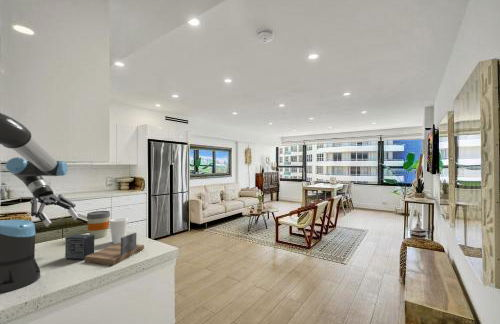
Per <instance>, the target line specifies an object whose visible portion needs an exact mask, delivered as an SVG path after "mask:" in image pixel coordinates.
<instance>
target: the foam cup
mask: <svg viewBox="0 0 500 324" xmlns="http://www.w3.org/2000/svg"><path fill="white" fill-rule="evenodd" d="M109 220H110V222H109V227H110V234H111V242H112V243H113V245H115V244H117V243H121V238H122V237H124V236H127V229H128V222H129V218H128V217H118V218H117V217H116V218H112V219H109Z"/></svg>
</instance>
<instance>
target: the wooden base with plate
mask: <svg viewBox="0 0 500 324" xmlns="http://www.w3.org/2000/svg"><path fill="white" fill-rule="evenodd" d="M143 249H144V250H145V244H137V232H133V233H130V234H126V236H124V237H122V238H121V243H117V244H112V245H110V246H107V247H105V248H103V249H100V250H98V251H94V253H93V254H90V255H88V256H85V260H84V262H85V263H89V264H99V265H101V264H102V265H107V266H115V265H118V264H119V263H121V262H124V261H125V260H128V259H129V258H131V257H133V256H134V254H135V255H137V254H139V253H140V251H141V252H142V250H143ZM144 250H143V251H144ZM138 252H139V253H138ZM136 253H137V254H136ZM132 255H133V256H132ZM130 256H131V257H130Z"/></svg>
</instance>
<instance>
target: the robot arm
mask: <svg viewBox="0 0 500 324" xmlns="http://www.w3.org/2000/svg"><path fill="white" fill-rule="evenodd" d="M0 145H2V146H3V147H4V148H7V149H12V150H13V151H15V153H17V154H18V155H20V156H21V157H19V156H18V157H13V158H10V159H8V160H7V162H6V164H5V168H6V170H7V171H8V172H10V173H11V174H12V175H13V176H15V177H17V178H18V179H19V180H20V181H22V182H23V183H24V185H25V186H26V188H27V189H28V190H29V192H30V193H31V195H32V196H33V197H32V198H31V199H30V201H29V203H30V204H31V205H30V206H31V209H30V216H31V217H35V218H36V219H37V218H38V220H39V221H40V222H42V223H43V224H44V225H45V227H46V228H48V227H49V226H51V224H52V221H51V220H50V218H48V215H47V214H46V213H45V212H43V211H44V208H45V206H58V207H61V208H62V209H66V210H67V212H68V213H69V215H70V216H71V217H72V219H73V220H74V221H76V220H77V219H78V218H79V215H78V214H77V211H76V210H75V207H76V203H74V202H72V201H71V200H70V199H67V198H66V197H64V196H63V195H62V194H57V195H55V194H54V190H53V189H52V188H51V187H50V185H49V184H48V183H47V181H46V180H45V179H44V178H43V177H61V176H65V175H67V173H68V170H69V169H68V168H69V166H68V164H67V161H65V160H64V161H62V160H56V159H55V157H53V156H52V155H51V154H50V153H49V152H48V151H47V150H46V149H45V148H44V147H43V146H42V145H40V143H39V142H37V140H36V139H34V137H33V135H32V132H31V131H30V130H29V129H28V128H27V127H26V126H25V125H24V124H22V123H20V122H19V121H17V120H16V119H14V118H12V117H10V116H9V115H6V114H3V113H1V112H0ZM22 157H23V158H22ZM38 203H40V205H39V208H38ZM36 232H37V231H36V225H35V222H33V221H31V220H27V219H5V220H4V219H3V220H0V293H4V292H3V291H6V292H10V291H14V290H17V289H21V288H23V287H26V286H29V285H31V284H33V283H35V282H37V281H39V279H40V278H41V269H40V267H39V265H38V263H37V260H36V259H35V257H36V255H35V253H36V252H35V251H36V234H37V233H36Z"/></svg>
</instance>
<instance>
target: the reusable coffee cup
mask: <svg viewBox="0 0 500 324" xmlns="http://www.w3.org/2000/svg"><path fill="white" fill-rule="evenodd" d="M110 217H111V212H110V211H109V210H97V211H90V212H87V214H86V219H87V223H86V225H87V230H88V233H89V234H88V235H95V236H94V240H95V239H102V238H104V237H106V236H107V235H108V229H109V227H110V220H111V219H110Z"/></svg>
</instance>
